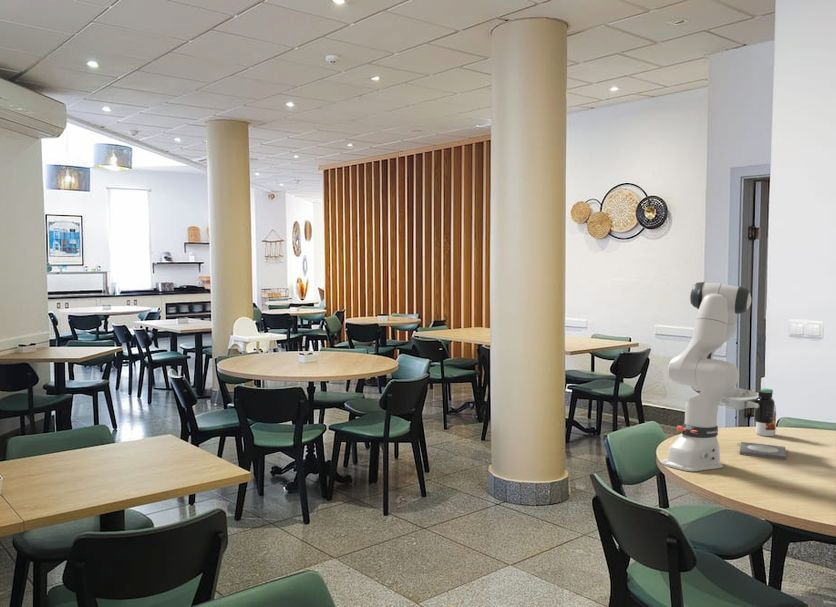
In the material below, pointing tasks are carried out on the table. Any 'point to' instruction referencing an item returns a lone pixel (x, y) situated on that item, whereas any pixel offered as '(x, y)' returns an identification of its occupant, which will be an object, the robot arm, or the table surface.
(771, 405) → the supplement bottle
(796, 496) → the table surface
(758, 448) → the charging pad
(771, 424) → the milk bottle
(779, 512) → the table surface
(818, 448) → the table surface
